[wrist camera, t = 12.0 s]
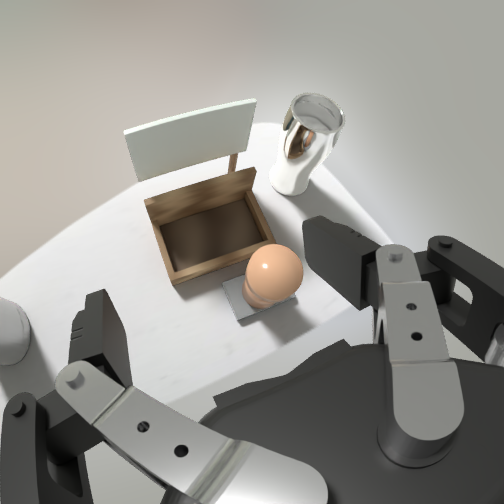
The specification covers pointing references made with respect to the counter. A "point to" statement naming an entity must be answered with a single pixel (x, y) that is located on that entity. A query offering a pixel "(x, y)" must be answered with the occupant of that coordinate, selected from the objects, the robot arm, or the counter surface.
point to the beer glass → (305, 141)
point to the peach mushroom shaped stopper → (271, 276)
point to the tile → (237, 301)
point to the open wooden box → (209, 224)
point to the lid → (190, 138)
